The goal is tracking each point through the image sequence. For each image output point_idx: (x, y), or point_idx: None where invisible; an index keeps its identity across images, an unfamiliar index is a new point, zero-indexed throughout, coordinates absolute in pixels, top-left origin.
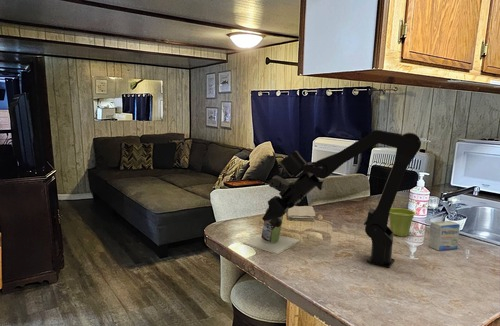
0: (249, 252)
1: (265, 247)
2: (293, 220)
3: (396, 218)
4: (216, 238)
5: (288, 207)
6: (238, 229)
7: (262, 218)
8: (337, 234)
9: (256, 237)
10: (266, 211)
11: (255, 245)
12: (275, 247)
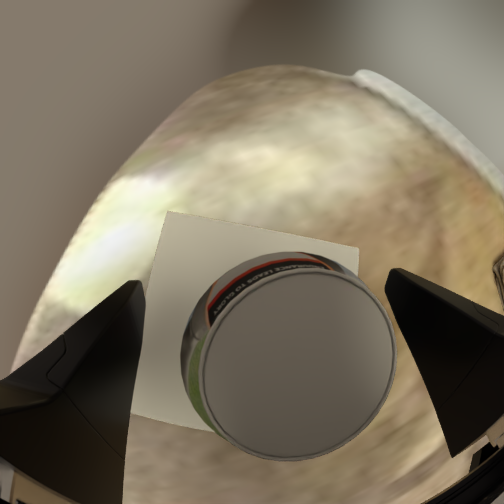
0: (91, 285)
1: (154, 338)
2: (497, 287)
3: None
4: (182, 111)
5: (447, 423)
6: (318, 135)
7: (127, 285)
8: (448, 478)
9: (259, 241)
10: (220, 278)
11: (155, 282)
12: (180, 383)
